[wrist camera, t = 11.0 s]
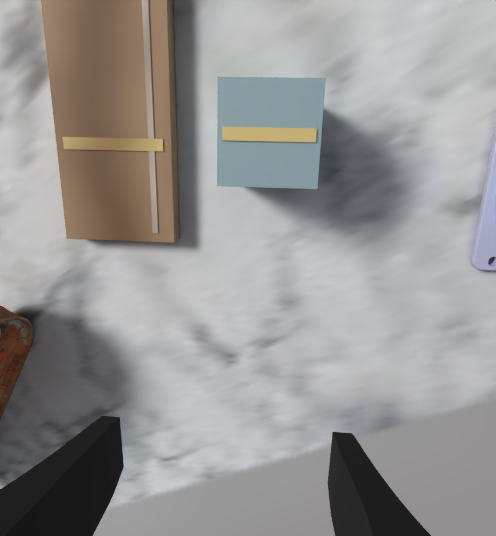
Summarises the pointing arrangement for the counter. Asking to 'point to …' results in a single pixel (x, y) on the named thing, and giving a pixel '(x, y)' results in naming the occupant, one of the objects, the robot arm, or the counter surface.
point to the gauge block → (269, 131)
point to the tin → (12, 351)
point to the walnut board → (115, 117)
